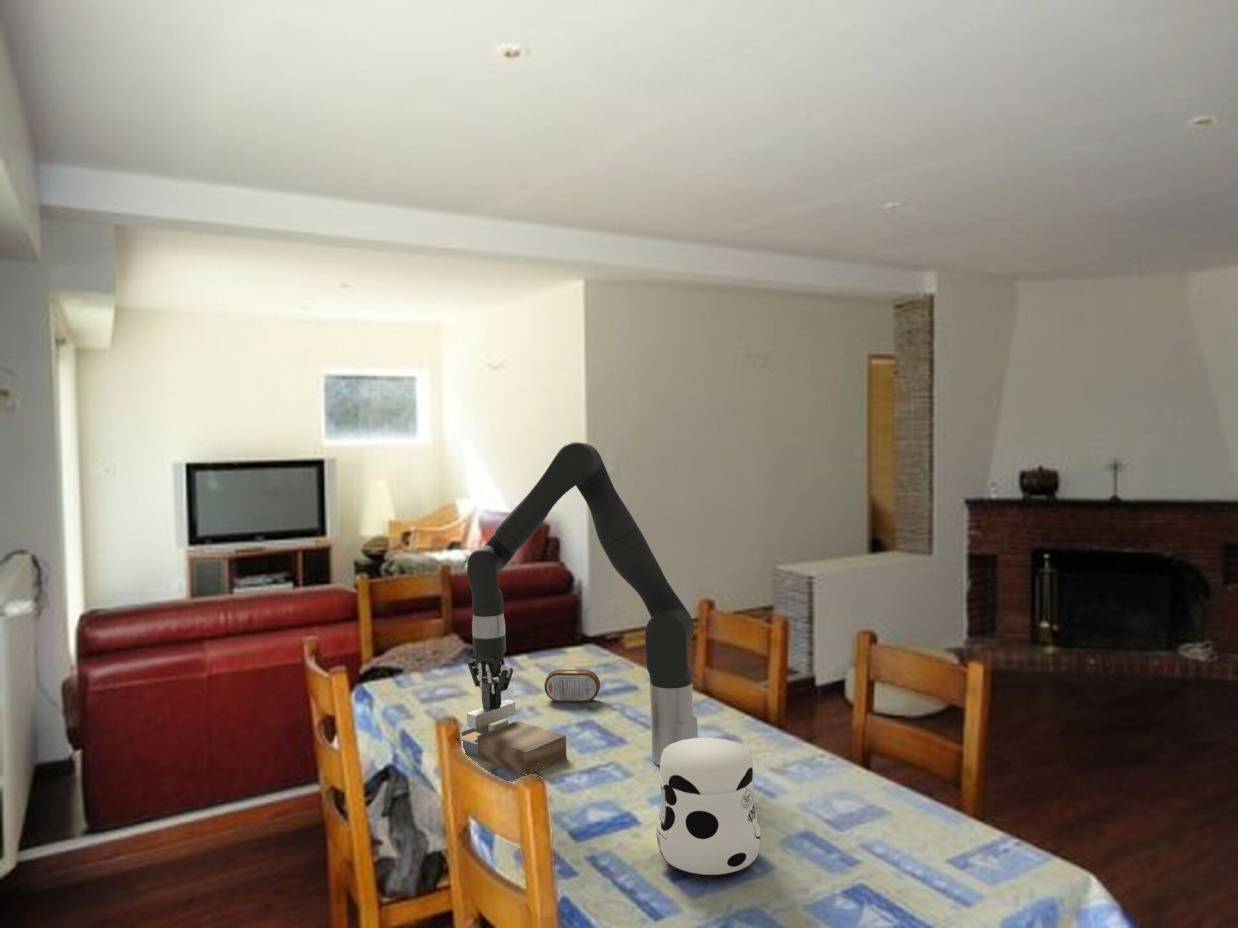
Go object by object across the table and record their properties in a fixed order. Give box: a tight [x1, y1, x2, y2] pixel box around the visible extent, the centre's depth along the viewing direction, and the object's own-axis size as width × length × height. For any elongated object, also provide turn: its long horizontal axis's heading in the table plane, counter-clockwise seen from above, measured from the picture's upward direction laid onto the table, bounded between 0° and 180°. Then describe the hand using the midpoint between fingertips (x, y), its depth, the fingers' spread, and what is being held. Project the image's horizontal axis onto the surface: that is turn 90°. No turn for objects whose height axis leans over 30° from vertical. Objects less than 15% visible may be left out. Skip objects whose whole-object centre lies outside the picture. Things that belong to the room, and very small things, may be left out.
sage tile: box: [488, 718, 510, 732], centre depth 195 cm, size 4×4×2 cm
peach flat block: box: [462, 732, 481, 743], centre depth 193 cm, size 4×4×2 cm
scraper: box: [466, 681, 517, 729], centre depth 192 cm, size 3×12×9 cm, turn 139°
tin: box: [543, 669, 601, 703], centre depth 224 cm, size 15×3×8 cm, turn 84°
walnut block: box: [477, 720, 568, 776], centre depth 186 cm, size 16×12×5 cm
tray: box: [461, 725, 488, 759], centre depth 195 cm, size 10×12×3 cm
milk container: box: [656, 737, 761, 878], centre depth 139 cm, size 17×17×18 cm
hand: (491, 706), depth 192 cm, fingers closed on scraper, 2 cm apart
